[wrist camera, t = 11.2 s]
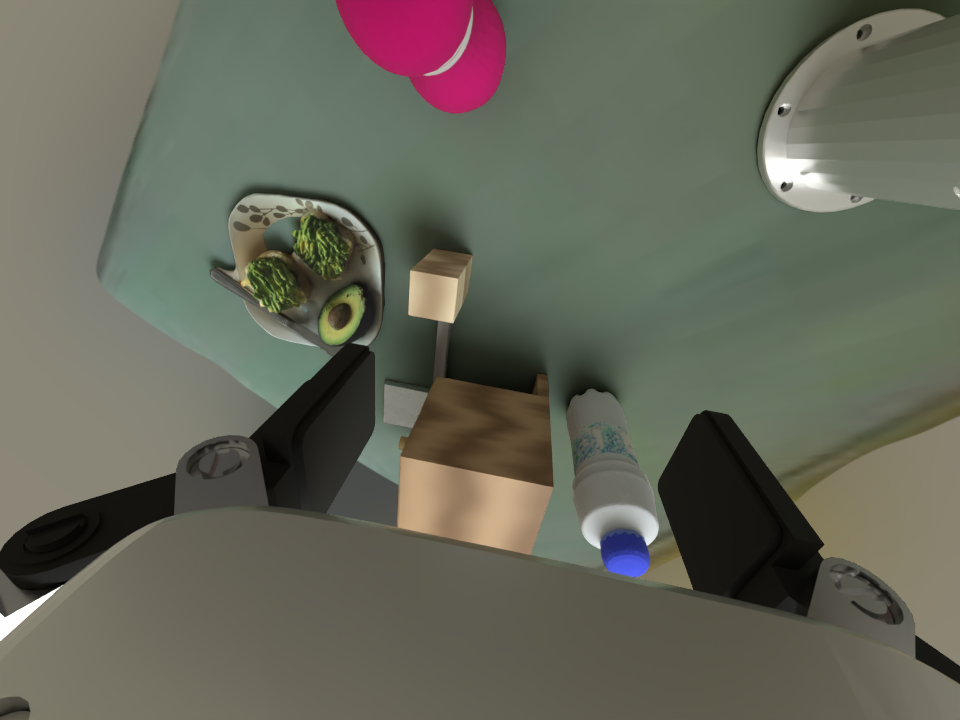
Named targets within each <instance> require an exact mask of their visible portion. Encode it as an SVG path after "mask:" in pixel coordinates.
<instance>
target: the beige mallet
mask: <svg viewBox="0 0 960 720" xmlns="http://www.w3.org/2000/svg"><path fill="white" fill-rule="evenodd" d="M472 258H473V255H468V254H463V253H457V252H451V251H446V250H440V249H433V250H432V251H431V252H430V253H428V254H427V255H426V256H425V257H424V258H423V259H422V260H421V261H420V262H419V263H418V264H417V265H416V266H415V267H413V268H412V269H411V270H410V291H409V313H408V315H411V316H416V317H422V318H427V319H433V320H438V328H437V339H436V351H435V362H434V373H433V384H434V381H435V379H436V377H437V376H438V377H443V378H446V369H447V360H448V351H449V342H450V333H451V323H454V321H455V319H456V317H457V315H458V313H459V311H460V309H461V306H462V304H463V302H464V300H465V298H466V296H467V294H468V290H469V282H470V274H471V266H472Z"/></svg>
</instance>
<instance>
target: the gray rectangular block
mask: <svg viewBox="0 0 960 720" xmlns="http://www.w3.org/2000/svg"><path fill="white" fill-rule="evenodd" d="M429 391H430V388H425V387H420V386H415V385H410V384H405V383H400V382H395V381H391V380H387V381H386V383H385V384H384V423H389V424H394V425H399V426H404V427H409V428H413V426H414V424H415V422H416V420H417V417H418V415H419V413H420V411H421V408H422V406H423V404H424V402H425V400H426V397H427V395H428V393H429Z"/></svg>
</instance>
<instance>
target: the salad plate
mask: <svg viewBox="0 0 960 720" xmlns="http://www.w3.org/2000/svg"><path fill="white" fill-rule="evenodd" d="M288 217H302V218H301V220H300V222H301V226H300V228H299V230H293V232H292V234H293V236H294V237H295V238H297V241H296V242H295V243H294V244H293V249H294V252H293V253H291V254H290V255H288V254H286V253H284V252H282V251H279V250H270V251H268V249H267V247H266V245H265V242H264V238H263V233H264V232H265V230H266V229H267V228H268V227H269V226H270V225H271V224H273V223H275V222H276V221H278V220H280V219H283V218H288ZM229 234H230V240H231V244H232V249H233V252H234V257H235V262H236V267H235V270H233V271H228V270H224V269H222V268H219V267H214V268H212V269H210V271H209V274H210V277H211V278H212V279H213V280H214V281H216V282H217V283H218V284H220V285H222V286H223V287H225V288H226V289H228V290H230V291H231V292H233V293H235V294H236V295H238V296H240V297H241V298H243V301H244V303H245V305H246V308H247V310H248V311H249V313H250V315H251V316H252V317H253V319H254V320H255V321H256V322H257V323H258V324H259V325H260V326H261V327H262V328H263V329H264V330H265V331H266V332H268V333H269V334H271V335H272V336H274V337H276V338H280V339H283V340H286V341H289V342H295V343H300V344H306V345H311V346H318V347H320V348H321V349H324V350H325V351H327V353H328V354H329V355H331V356H334V355H335V354H336V353H337V352H338V351H339V350H340V349H341V348H342V347H343V346H344V345H345V344H346V343H355V344H360V345H365V346H368V345H369V344H371V343H372V342H373V341H374V340H375V338H376V337H377V335H378V334H379V331H380V328H381V324H382V317H383V309H384V305H385V302H384V284H385V263H384V255H383V249H382V246H381V243H380V241H379V240H378V238H377V237H376V235H375V234H374V232H373V231H372V230H371V229H370V227H369V226H368V225H367V224H366V223H365V221H364V220H363V219H361V218H360V217H359V216H358V215H356V214H355V213H354V212H353V211H351V210H349V209H348V208H346V207H343V206H341V205H339V204H337V203H334V202H331V201H328V200H324V199H307V198H301V197H294V196H287V195H279V194H262V193H254V194H252V195H248V196H246V197H245V198H243V199H241V200H240V201H239V202H238V204H237V205H236V206H235V208H234V209H233V211H232V212H231V213H230V216H229ZM361 261H362V263H361ZM302 306H305V307H307V309H308V312H307V313H304V312H303V311H302Z"/></svg>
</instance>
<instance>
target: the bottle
mask: <svg viewBox="0 0 960 720" xmlns="http://www.w3.org/2000/svg"><path fill="white" fill-rule="evenodd" d="M566 420H567V427H568V432H569V436H570V440H571V447H572V455H573V464H574V472H575V479H574V481H573V493H574V494H573V503H574V506H575V508H576V512H577V515H578V519H579V523H580V527H581V530H582V533H583V535H584V537H585V538H586V540H587V541H588V542H589V543H591V544H592V545H593V546H595V547H597V548H599V549H601V555H602V559H603V562H604V565H605V566H606V568H607V569H608V570H609V571H610V572H613V573H617V574H622V575H626V576H631V577H638V576H641V575H643V574H644V573H645V572H646V571H647V569H648V567H649V565H650V556H649V552H648V548H647V545H649V544H650V543H651V542H652V541H653V540H654V539H655V537H656V536H657V534H658V528H659V525H658V519H657V513H656V508H655V501H654V492H653V490H652V488H651V486H650V485H649V480H648V478H647V476H646V475H645V473H644V472H643V471H642V470H641V469H640V466H639V463H638V460H637V457H636V454H635V451H634V448H633V445H632V442H631V439H630V436H629V433H628V428H627V423H626V418H625V415H624V411H623V409H622V407H621V405H620V404H619V402H618V401H617V400H616V398H615V397H614V396H613V395H612V394H611V393H609V392H603V393H601V392H598V391H596V390H595V389H588V390H587V391H586V393H585V394H583V395H581V396H579V395H575V396H574V397H573V398H572V400H571V402H570V405H569V408H568V410H567V414H566Z"/></svg>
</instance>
